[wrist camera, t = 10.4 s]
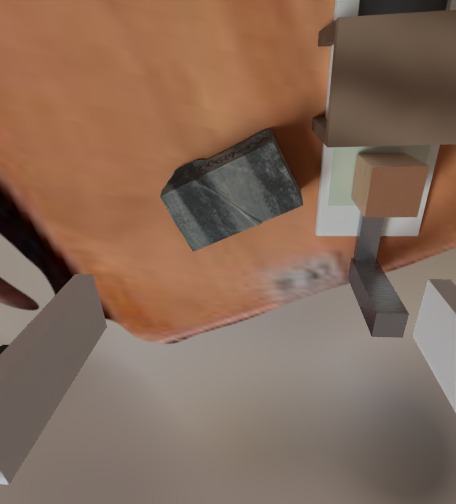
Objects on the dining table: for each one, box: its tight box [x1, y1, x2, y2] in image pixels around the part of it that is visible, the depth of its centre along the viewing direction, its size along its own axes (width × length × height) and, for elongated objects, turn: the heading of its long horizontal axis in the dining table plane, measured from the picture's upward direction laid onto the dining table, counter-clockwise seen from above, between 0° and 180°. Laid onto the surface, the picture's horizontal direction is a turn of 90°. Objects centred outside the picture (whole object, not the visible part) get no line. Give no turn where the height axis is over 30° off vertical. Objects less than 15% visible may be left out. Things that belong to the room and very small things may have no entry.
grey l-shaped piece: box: [348, 153, 429, 337], centre depth 35 cm, size 16×5×11 cm, turn 2°
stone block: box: [160, 128, 303, 251], centre depth 39 cm, size 9×14×5 cm, turn 118°
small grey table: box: [312, 10, 456, 147], centre depth 30 cm, size 9×15×10 cm, turn 93°
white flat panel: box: [315, 0, 456, 236], centre depth 35 cm, size 27×12×1 cm, turn 3°
